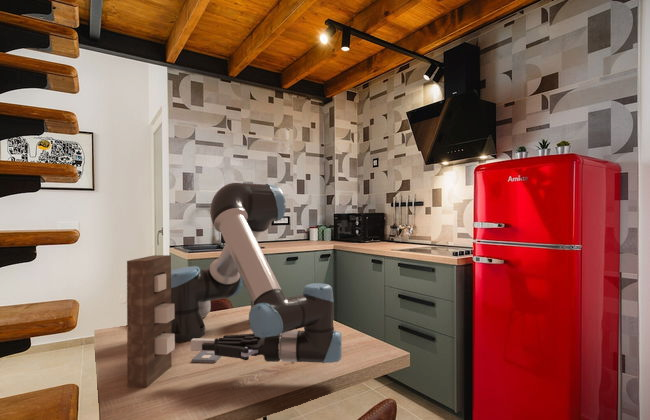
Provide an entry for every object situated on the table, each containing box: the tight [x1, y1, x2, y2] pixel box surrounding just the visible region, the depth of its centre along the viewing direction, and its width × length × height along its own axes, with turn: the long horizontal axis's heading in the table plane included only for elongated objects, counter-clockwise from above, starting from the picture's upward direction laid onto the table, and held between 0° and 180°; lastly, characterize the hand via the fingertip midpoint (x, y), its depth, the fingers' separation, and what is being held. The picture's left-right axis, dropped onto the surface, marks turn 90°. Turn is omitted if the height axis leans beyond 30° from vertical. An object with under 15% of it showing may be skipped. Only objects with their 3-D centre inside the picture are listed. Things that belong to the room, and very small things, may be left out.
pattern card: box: [191, 351, 222, 363], centre depth 106 cm, size 7×10×1 cm
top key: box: [154, 274, 166, 292], centre depth 93 cm, size 4×4×4 cm
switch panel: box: [126, 254, 172, 388], centre depth 93 cm, size 5×12×31 cm, turn 176°
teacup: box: [200, 300, 212, 319], centre depth 148 cm, size 14×11×8 cm
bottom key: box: [155, 333, 176, 354], centre depth 93 cm, size 4×4×4 cm
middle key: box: [154, 304, 175, 323], centre depth 93 cm, size 4×4×4 cm
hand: (192, 344), depth 92 cm, fingers closed
